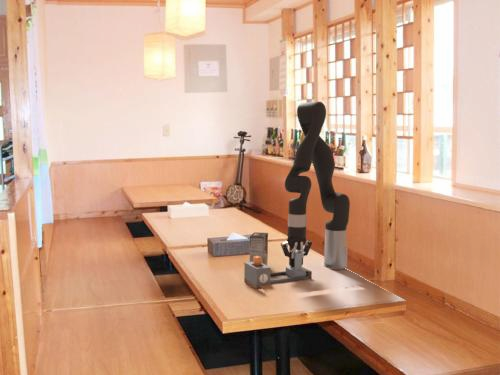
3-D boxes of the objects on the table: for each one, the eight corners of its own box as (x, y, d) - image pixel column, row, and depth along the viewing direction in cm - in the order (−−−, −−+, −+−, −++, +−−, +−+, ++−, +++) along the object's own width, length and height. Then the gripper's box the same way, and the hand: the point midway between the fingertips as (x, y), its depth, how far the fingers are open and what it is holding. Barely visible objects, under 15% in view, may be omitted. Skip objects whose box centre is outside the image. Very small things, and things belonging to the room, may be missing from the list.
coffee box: (253, 268, 282) (253, 231, 280) (267, 268, 281) (268, 232, 279) (249, 273, 273) (249, 235, 271) (263, 274, 272) (264, 236, 270)
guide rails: (295, 272, 269) (295, 270, 269) (308, 279, 260) (308, 276, 260) (258, 277, 262) (258, 274, 262) (270, 283, 252) (270, 280, 252)
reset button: (259, 263, 257) (259, 255, 257) (262, 265, 254) (263, 257, 254) (252, 263, 256) (252, 256, 255) (255, 265, 253) (255, 258, 252)
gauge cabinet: (257, 276, 262) (258, 261, 261) (270, 284, 252) (271, 267, 251) (244, 278, 259) (244, 262, 259) (256, 285, 249) (257, 269, 248)
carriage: (296, 273, 268) (296, 249, 267) (306, 278, 261) (306, 253, 259) (285, 274, 266) (286, 250, 264) (295, 279, 259) (295, 254, 257)
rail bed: (298, 275, 270) (298, 265, 270) (312, 282, 260) (312, 271, 260) (244, 282, 260) (244, 271, 259) (256, 289, 250) (256, 277, 249)
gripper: (307, 222, 267) (306, 262, 269) (277, 224, 261) (276, 265, 263) (316, 225, 260) (315, 267, 262) (286, 227, 254) (285, 270, 256)
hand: (295, 266), depth 263 cm, fingers closed on carriage, 3 cm apart
